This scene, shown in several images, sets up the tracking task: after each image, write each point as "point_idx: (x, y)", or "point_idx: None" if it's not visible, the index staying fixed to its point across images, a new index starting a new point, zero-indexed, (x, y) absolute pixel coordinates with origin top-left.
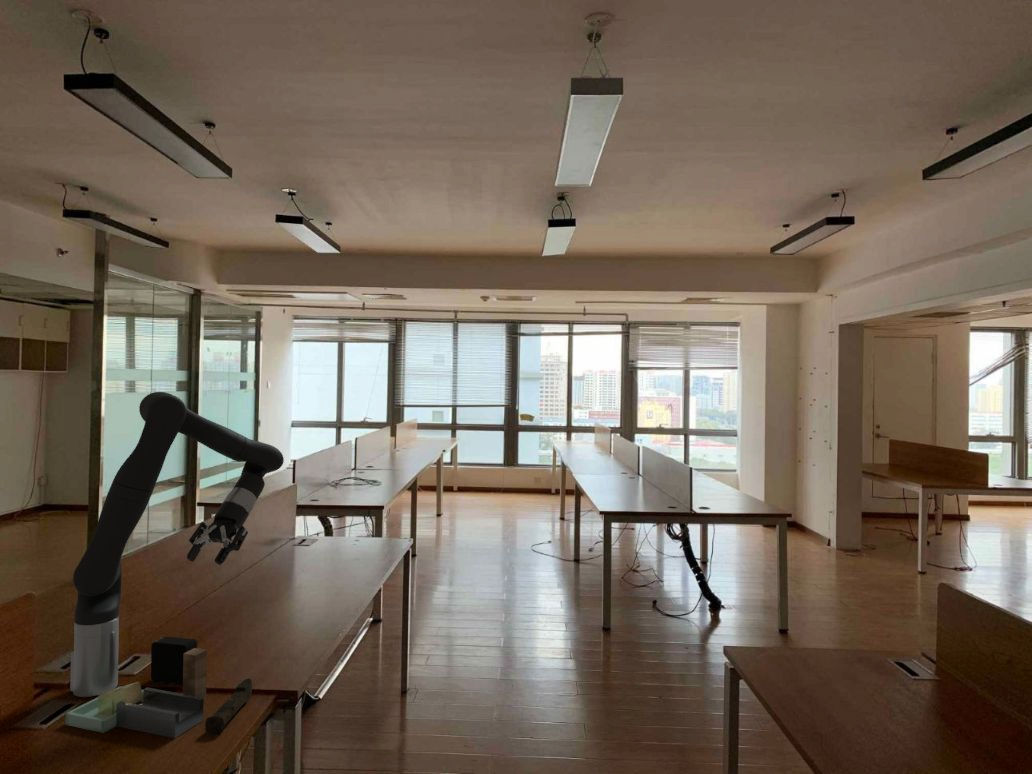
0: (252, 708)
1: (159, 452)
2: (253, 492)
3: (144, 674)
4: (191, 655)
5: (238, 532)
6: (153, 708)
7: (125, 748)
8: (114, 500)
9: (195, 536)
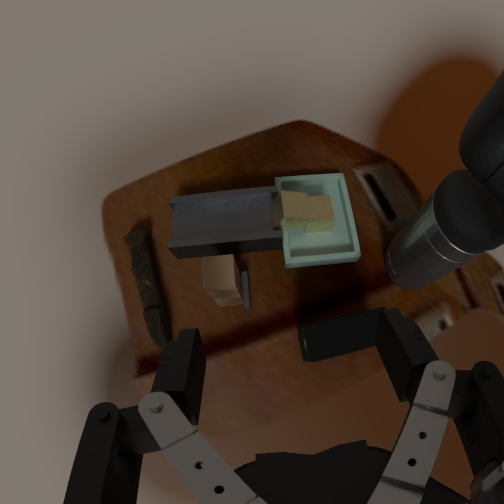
0: (137, 312)
1: None
2: None
3: None
4: (212, 256)
5: (83, 501)
6: (212, 195)
7: (217, 175)
8: None
9: (485, 399)
